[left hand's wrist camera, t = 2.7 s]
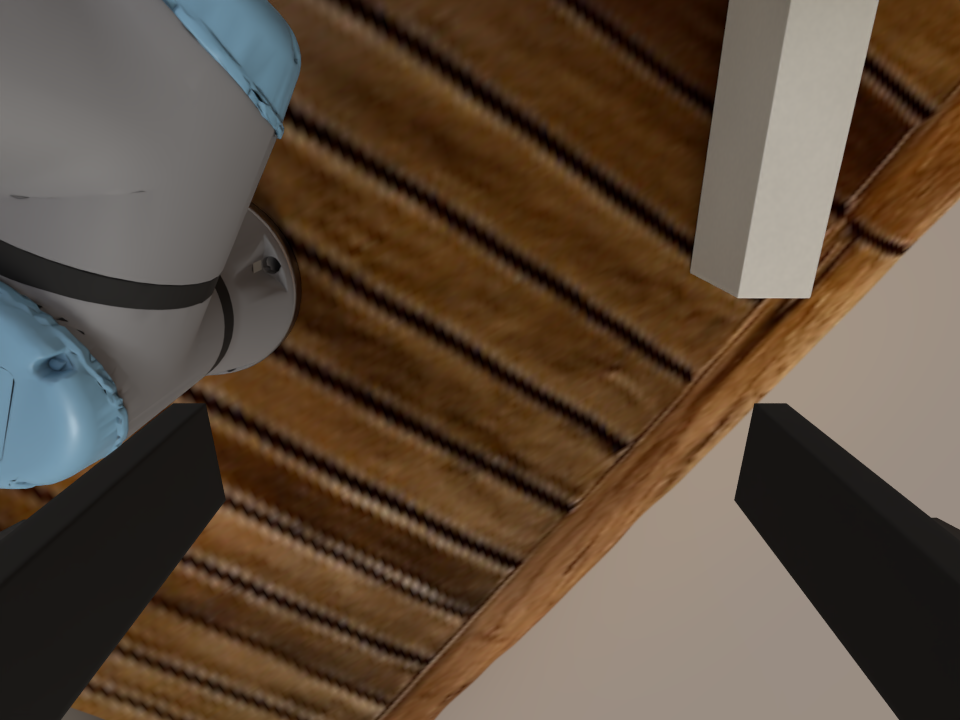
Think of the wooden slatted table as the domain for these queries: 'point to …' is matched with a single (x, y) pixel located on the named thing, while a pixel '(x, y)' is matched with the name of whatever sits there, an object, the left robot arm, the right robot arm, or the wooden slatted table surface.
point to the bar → (778, 141)
